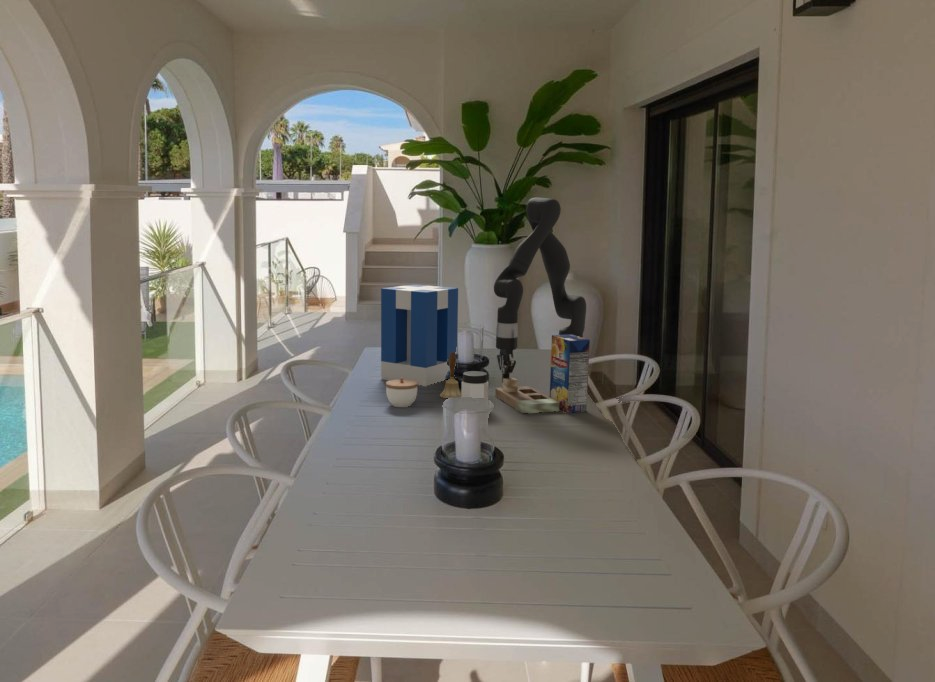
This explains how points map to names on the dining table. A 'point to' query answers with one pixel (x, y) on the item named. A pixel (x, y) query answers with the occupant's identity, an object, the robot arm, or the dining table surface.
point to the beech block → (510, 385)
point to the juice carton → (569, 372)
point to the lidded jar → (401, 392)
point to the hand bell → (451, 381)
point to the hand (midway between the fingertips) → (505, 383)
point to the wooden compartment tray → (528, 400)
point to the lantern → (418, 332)
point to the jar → (475, 384)
